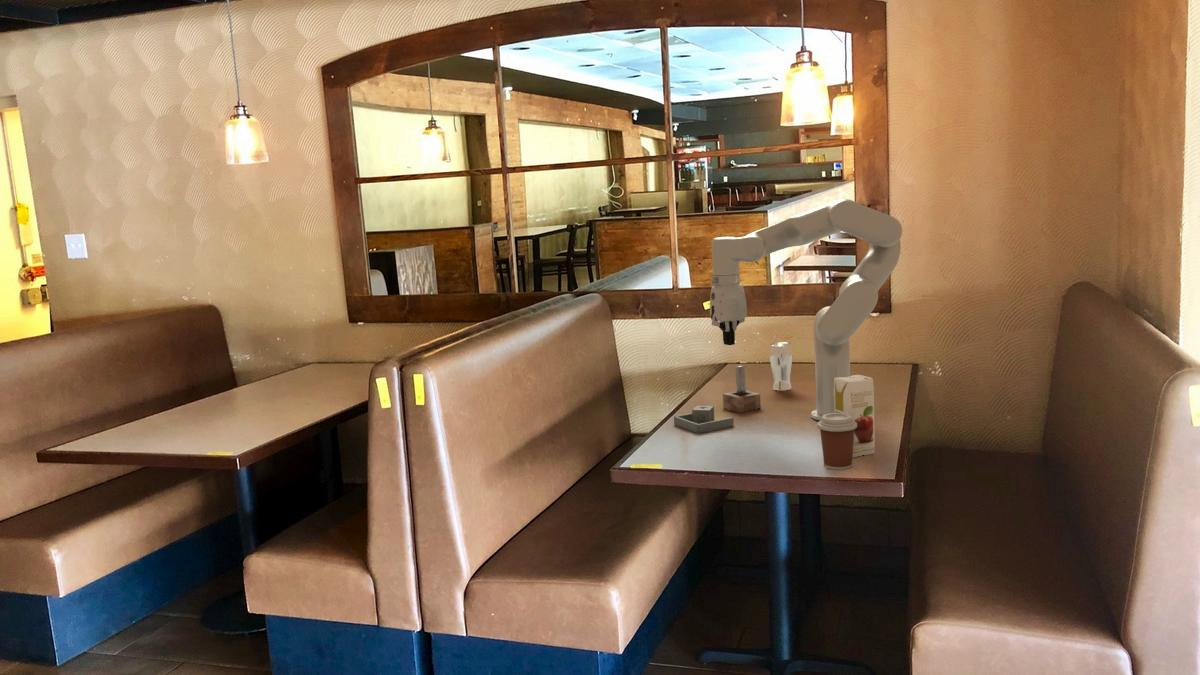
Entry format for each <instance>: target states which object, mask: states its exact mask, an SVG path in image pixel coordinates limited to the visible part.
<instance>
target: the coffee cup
mask: <svg viewBox="0 0 1200 675" xmlns="http://www.w3.org/2000/svg"><path fill="white" fill-rule="evenodd" d="M816 426H817V429H818V430H819V431H820V439H821V447H822V455H823V457H822V458H823V466H824V467H825V468H826V467H827V468H826V469H828V468H829V470H833V469H835V470H834V471H839V470H840V471H843V469H844V470H849V469H851V468H852V467H853V458H852V456H853V441H854V429H856V428H857V423H856V422H855V421H854V420H853V419H852V416H851V415H849V414H845V413H829V414H825V415H823V416H822V420H821V421H819V420H818V422H817V424H816Z"/></svg>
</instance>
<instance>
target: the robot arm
mask: <svg viewBox="0 0 1200 675" xmlns="http://www.w3.org/2000/svg"><path fill="white" fill-rule="evenodd" d="M840 232H842V233H845V234H848V235H849V236H852V237H855V238H856V239H857V238H858V239H860V240H861V241H865V242H868V243H869V244H868V245H869V246H868V249H867V252H866V254H865V255H864V257H862V260H861V261H860V262H859V264H858V265H857V266H856V268H855V269H854V270H853V272H851V274H849V276H848V277H847V278H846V279H845V281H843V283H841V285H840V288H839V290H838V297H836V299H835V300H834V301H833V303H831V305H828V306H825V307H822V308H821V309H819V310H818V311H817V312H816V314H815V316H814V319H813V324H812V325H813V326H812V327H813V340H814V341H813V342H814V365H815V367H814V373H815V399H816V400H815V406H816V407H815V408H816V409H814V410H812V411H811V412H810V416H811V418H812V419H814V420H816V421H818V422H819V421H821V420H822V416H823V415H825V414H829V413H834V378H839V377H849V376H851V355H850V354H851V352H850V338H852V336H853V335H854V334H855V333H856V331H858V329H859V328H860V327H861V326H862V324H863V323H864V322H865V321H866V319H867V318H868V317H869V316H870V314H871V313H872V312H873V311H874V309H875V308H876V306H877V304H878V299H879V294H878V293H879V290H880V289H881V288H882V286H883V285H884V284H885V283H886V281H887V280H888V278H890V276H891V274H892V273H893V272H894V270H895V268H896V267H897V265H898V263H899V260H900V256H901V251H902V250H901V248H902V247H901V238H902V235H903V225H902V224H901V223H900V220H898V219H897V218H896V217H894V216H892V215H890V214H887V213H884V212H882V211H879V210H876V209H873V208H872V207H871V208H870V207H868V206H866V205H863V204H861V203H858V202H857V201H854V200H852V199H849V198H839V199H836V200H833V201H831V202H827V203H826V204H823V205H820V206H818V207H814V208H812V209H810V210H807V211H805V212H802V213H799V214H796V215H793V216H791V217H789V218H787V219H785V220H782V221H780V222H778V223H775V224H772V225H770V226H766V227H764V228H761V229H759V230H758V229H757V230H756V231H753V232H749V233H747V234H746V235H744V236H741V237H735V236H721V237H714V238H713V239H712V240H711V261H712V262H711V263H712V264H711V265H712V278H710V279H709V283H710V284H712V286H711V289H710V294H709V295H710V296H709V297H710V298H709V316H710V319H711V326H713V327H718V328H719V329H720V331H722V341H723V345H726V346H734V345H735V344H736V342H735V341H736V338H735V337H736V334H735V333H736V330H737V327H738V326H739V324H742V323H744V322H745V320H746V318H747V316H748V307H747V299H746V293H745V289H744V285H743V284H742V283H741V276H740V275H741V273H740V262H741V263H743V262H745V263H756V262H759V261H761V260H762V259H763V258H764V257H765V256H767V255H770V254H773V253H775V252H778V251H781V250H784V249H787V248H792V247H802V246H805V245H808V244H811V243H813V242H816V241H818V240H822V239H825V238H827V237H830V236H832V235H835V234H838V233H840Z"/></svg>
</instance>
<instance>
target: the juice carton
mask: <svg viewBox="0 0 1200 675" xmlns="http://www.w3.org/2000/svg"><path fill="white" fill-rule="evenodd" d="M874 388H875V387H874V378H873V377H870V376H866V375H861V374H853V375H852V374H851V375H850V376H849V377H839V378H834V413H845V414H849V415H851V416H852V419H853V420H854V421H855V422H856V423H857V428H856V429H854V441H853V456H852V459H853V458H859V457H863V456H862V455H864V456H869V455H873V454H875V446H876V445H875V442H876V438H875V434H876V433H875V431H876V430H875V428H876V427H875V389H874ZM858 456H859V457H858Z"/></svg>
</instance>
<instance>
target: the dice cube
mask: <svg viewBox="0 0 1200 675" xmlns="http://www.w3.org/2000/svg"><path fill="white" fill-rule="evenodd" d="M691 413H692V417H693V422H694V423H697V424H701V423H706V422H711V421H716V420H715V406H713V405H696V406H695V407H693V409H692V410H691Z"/></svg>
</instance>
